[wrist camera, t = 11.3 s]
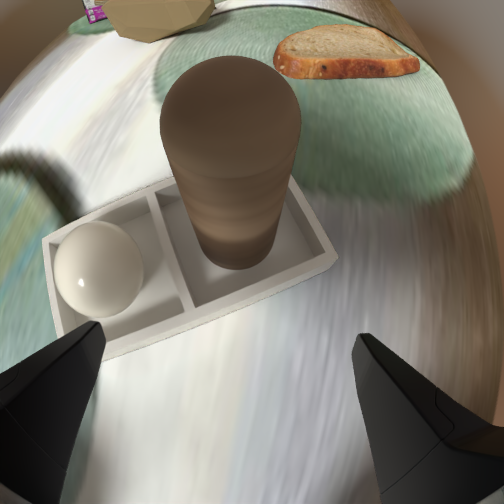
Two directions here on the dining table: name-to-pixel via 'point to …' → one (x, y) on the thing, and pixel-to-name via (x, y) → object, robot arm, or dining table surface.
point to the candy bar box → (94, 10)
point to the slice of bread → (342, 54)
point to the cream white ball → (98, 269)
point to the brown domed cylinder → (232, 154)
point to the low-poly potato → (156, 17)
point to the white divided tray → (189, 267)
